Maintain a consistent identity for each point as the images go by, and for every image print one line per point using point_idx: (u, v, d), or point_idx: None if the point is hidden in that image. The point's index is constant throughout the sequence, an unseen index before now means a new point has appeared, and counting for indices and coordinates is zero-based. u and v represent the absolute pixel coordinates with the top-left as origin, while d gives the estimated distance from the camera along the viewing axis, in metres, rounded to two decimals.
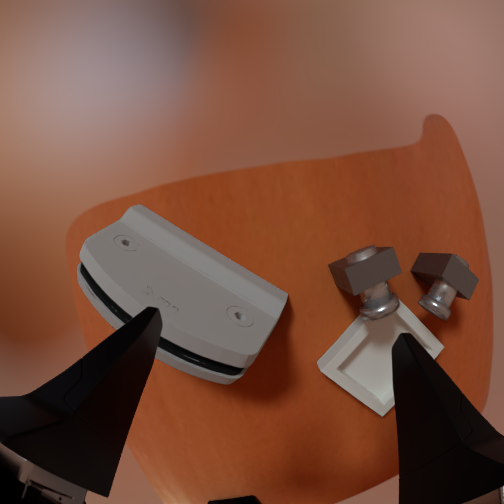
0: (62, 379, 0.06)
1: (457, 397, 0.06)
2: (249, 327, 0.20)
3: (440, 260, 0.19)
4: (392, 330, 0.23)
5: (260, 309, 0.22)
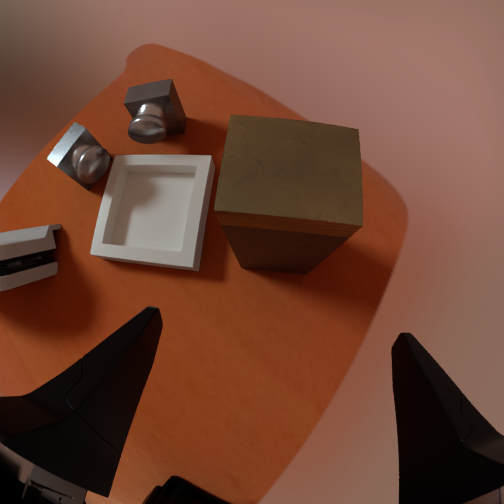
0: (62, 379, 0.06)
1: (457, 397, 0.06)
2: (12, 242, 0.18)
3: None
4: (149, 185, 0.23)
5: (33, 238, 0.21)
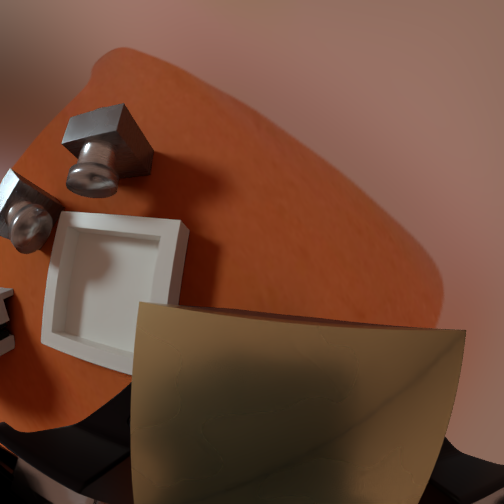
0: (120, 401, 0.06)
1: None
2: None
3: None
4: (104, 253, 0.17)
5: None
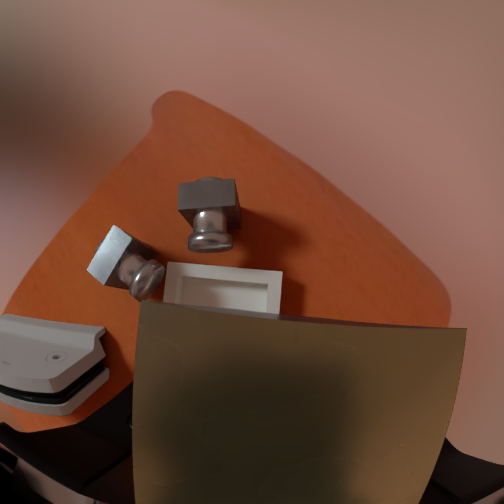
0: (120, 401, 0.06)
1: None
2: (60, 362, 0.18)
3: None
4: (211, 295, 0.23)
5: (78, 347, 0.21)
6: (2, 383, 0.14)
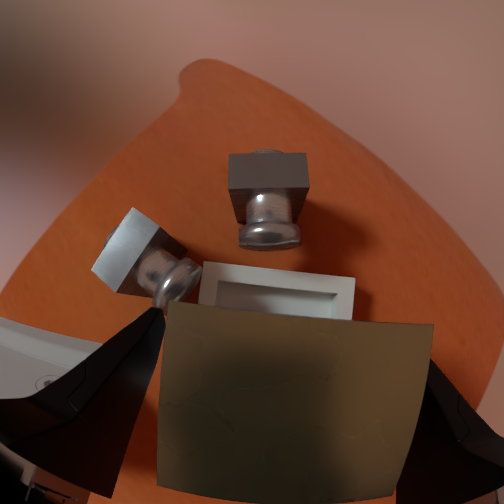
0: (65, 380, 0.06)
1: (454, 397, 0.06)
2: None
3: None
4: (260, 307, 0.18)
5: None
6: None
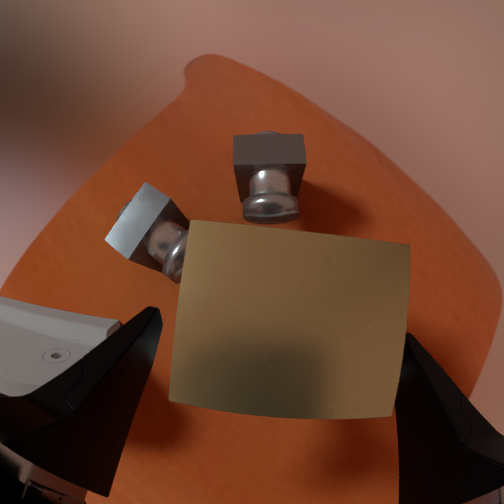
0: (62, 379, 0.06)
1: (457, 397, 0.06)
2: (61, 362, 0.14)
3: None
4: None
5: (85, 344, 0.17)
6: None
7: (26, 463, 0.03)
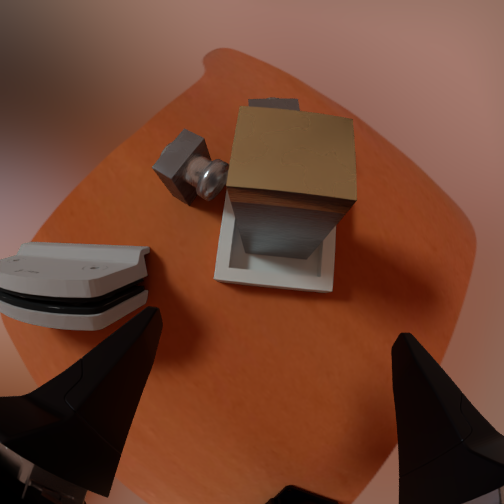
0: (62, 379, 0.06)
1: (457, 397, 0.06)
2: (100, 270, 0.19)
3: None
4: None
5: (120, 263, 0.22)
6: (25, 291, 0.15)
7: (26, 463, 0.03)
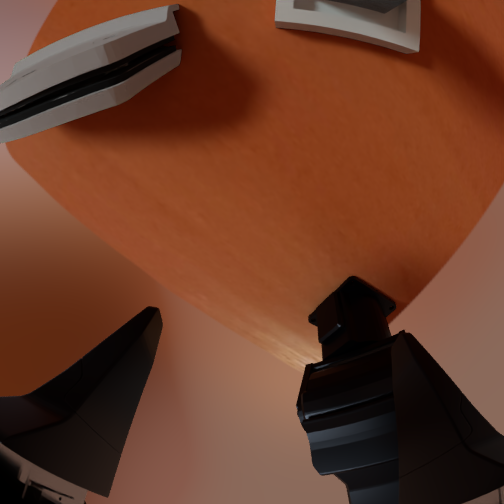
0: (62, 379, 0.06)
1: (457, 397, 0.06)
2: (117, 35, 0.11)
3: None
4: None
5: (142, 25, 0.12)
6: (21, 97, 0.09)
7: (26, 463, 0.03)
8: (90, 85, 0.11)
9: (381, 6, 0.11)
